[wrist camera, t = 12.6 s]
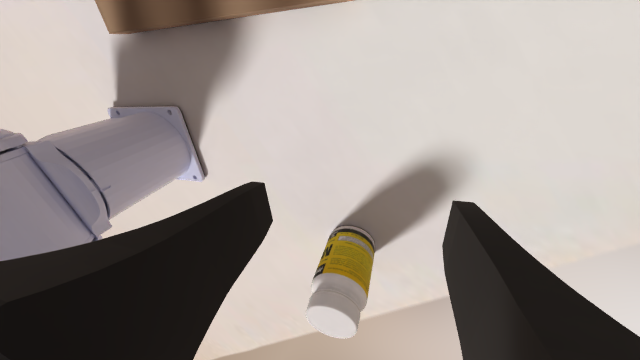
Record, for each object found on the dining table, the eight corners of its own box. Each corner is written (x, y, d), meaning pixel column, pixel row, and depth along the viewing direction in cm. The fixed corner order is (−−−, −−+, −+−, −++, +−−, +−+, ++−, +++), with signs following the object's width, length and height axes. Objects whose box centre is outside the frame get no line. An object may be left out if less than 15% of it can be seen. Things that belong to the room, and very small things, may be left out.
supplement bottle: (332, 218, 24) (301, 293, 17) (380, 231, 23) (368, 316, 16) (327, 251, 26) (299, 328, 19) (370, 264, 25) (356, 350, 18)
